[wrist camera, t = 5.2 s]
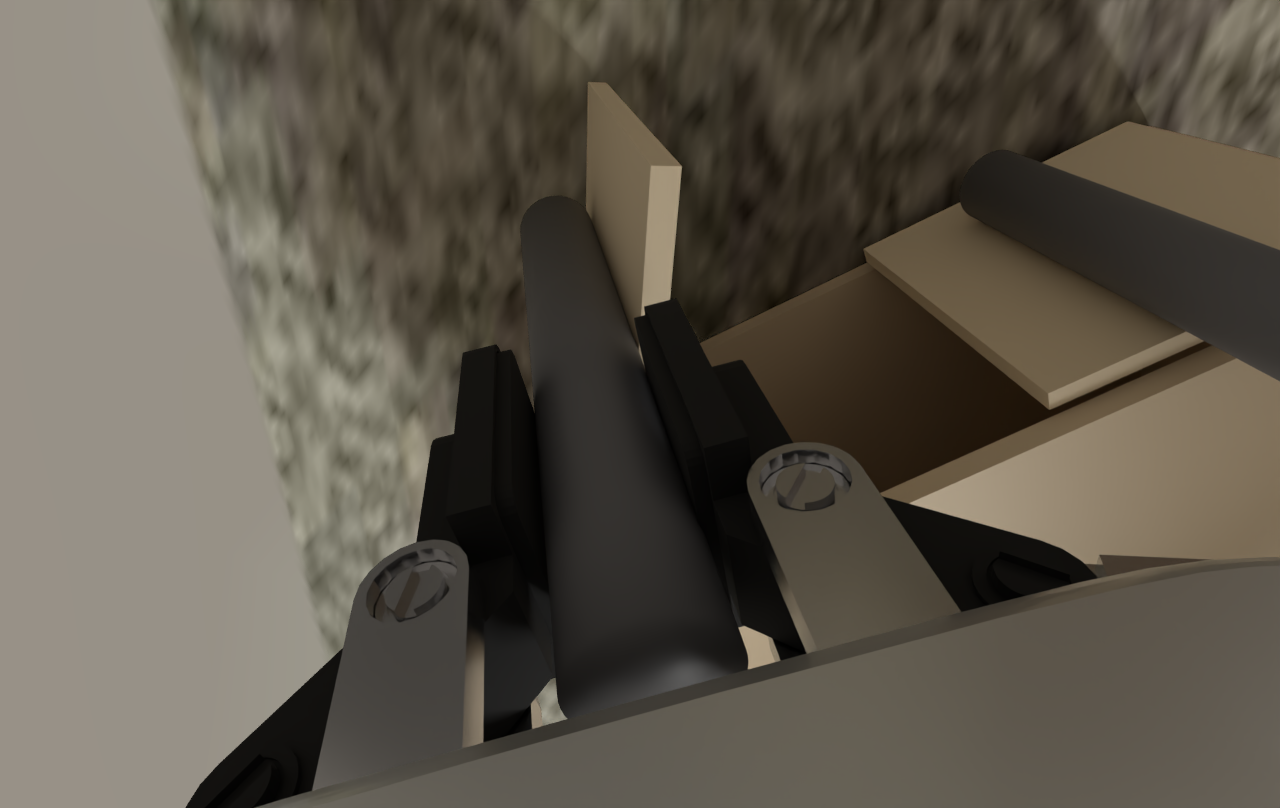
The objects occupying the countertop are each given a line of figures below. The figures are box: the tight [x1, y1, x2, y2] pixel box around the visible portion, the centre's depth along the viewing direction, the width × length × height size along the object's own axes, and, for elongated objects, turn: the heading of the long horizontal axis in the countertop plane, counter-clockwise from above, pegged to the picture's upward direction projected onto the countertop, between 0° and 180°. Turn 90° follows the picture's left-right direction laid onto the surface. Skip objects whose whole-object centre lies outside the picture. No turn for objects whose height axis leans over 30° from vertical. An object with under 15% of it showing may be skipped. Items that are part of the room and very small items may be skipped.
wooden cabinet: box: [700, 126, 1280, 669], centre depth 23 cm, size 14×21×10 cm, turn 114°
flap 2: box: [864, 121, 1280, 410], centre depth 15 cm, size 2×9×16 cm, turn 114°
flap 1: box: [520, 82, 749, 719], centre depth 14 cm, size 2×9×16 cm, turn 176°
